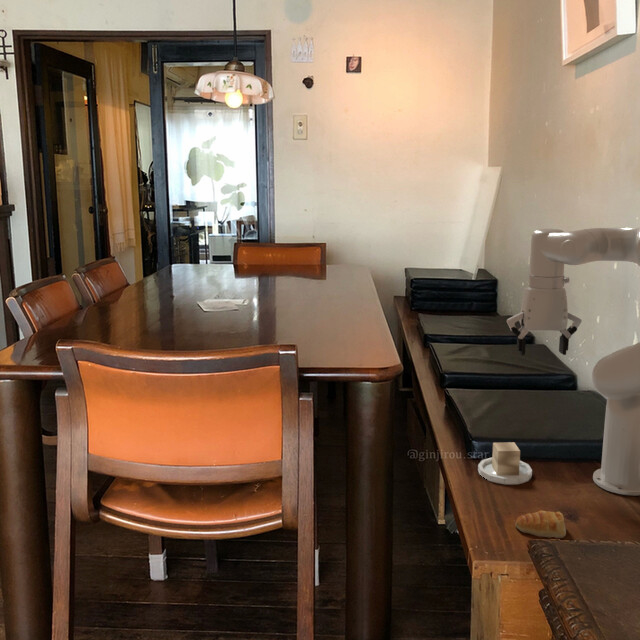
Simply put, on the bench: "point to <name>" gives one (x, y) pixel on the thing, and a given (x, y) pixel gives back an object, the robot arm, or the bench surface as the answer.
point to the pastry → (542, 524)
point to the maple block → (506, 458)
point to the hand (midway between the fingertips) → (542, 353)
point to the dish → (489, 474)
